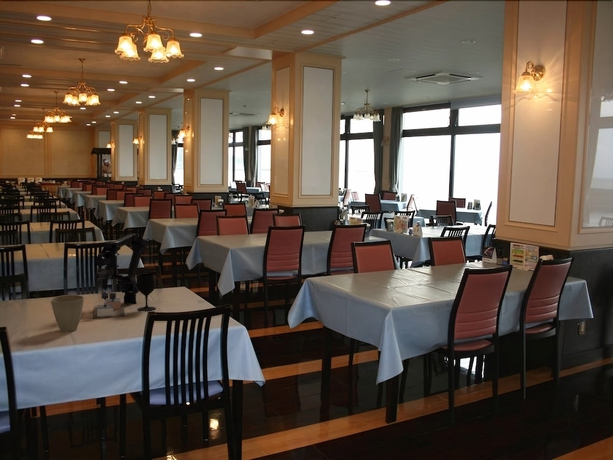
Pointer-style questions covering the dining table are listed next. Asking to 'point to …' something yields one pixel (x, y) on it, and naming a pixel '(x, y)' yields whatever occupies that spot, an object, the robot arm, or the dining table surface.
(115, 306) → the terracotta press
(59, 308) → the plant pot
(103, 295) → the black plunger
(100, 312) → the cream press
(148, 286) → the wine glass
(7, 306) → the dining table surface
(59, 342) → the dining table surface
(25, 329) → the dining table surface
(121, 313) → the walnut board
